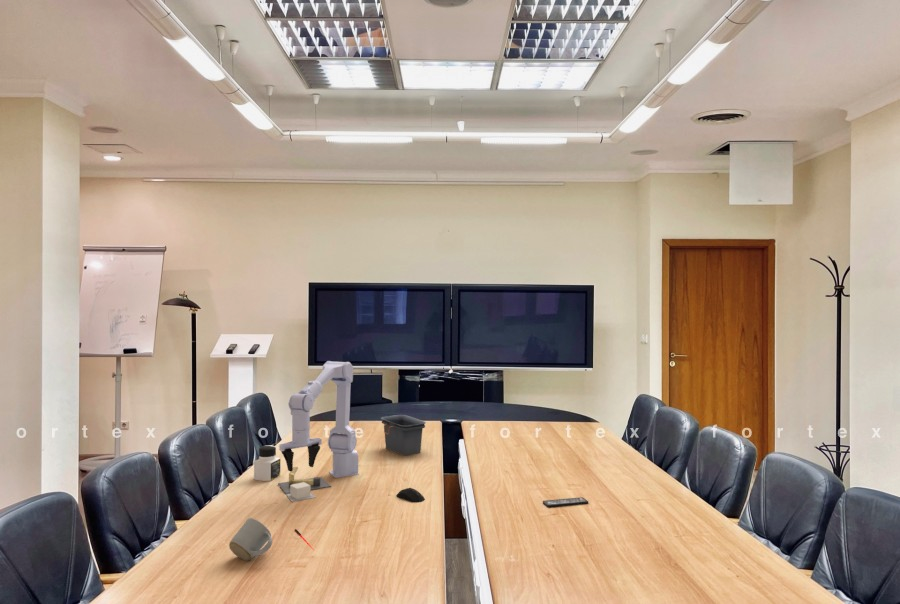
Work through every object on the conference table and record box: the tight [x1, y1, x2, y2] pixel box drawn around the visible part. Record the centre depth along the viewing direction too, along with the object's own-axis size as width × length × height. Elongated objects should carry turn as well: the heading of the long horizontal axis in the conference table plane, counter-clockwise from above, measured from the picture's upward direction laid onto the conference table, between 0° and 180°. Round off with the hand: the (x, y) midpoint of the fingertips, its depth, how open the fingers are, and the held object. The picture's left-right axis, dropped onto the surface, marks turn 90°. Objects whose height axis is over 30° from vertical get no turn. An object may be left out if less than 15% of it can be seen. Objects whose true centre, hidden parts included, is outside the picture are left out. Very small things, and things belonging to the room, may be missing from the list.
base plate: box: [277, 476, 332, 495], centre depth 204 cm, size 16×12×1 cm
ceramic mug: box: [228, 517, 273, 562], centre depth 146 cm, size 11×8×8 cm
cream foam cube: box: [290, 482, 312, 499], centre depth 193 cm, size 5×5×4 cm
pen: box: [294, 528, 315, 551], centre depth 157 cm, size 1×19×1 cm, turn 33°
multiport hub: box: [542, 496, 589, 509], centre depth 185 cm, size 4×14×2 cm, turn 104°
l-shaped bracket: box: [288, 466, 321, 486], centre depth 207 cm, size 10×11×4 cm
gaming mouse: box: [396, 487, 425, 504], centre depth 191 cm, size 6×15×4 cm, turn 43°
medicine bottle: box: [253, 444, 281, 482], centre depth 214 cm, size 7×7×12 cm
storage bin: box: [380, 414, 427, 457], centre depth 253 cm, size 21×16×14 cm
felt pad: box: [285, 492, 316, 503], centre depth 193 cm, size 8×8×1 cm
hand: (300, 468), depth 193 cm, fingers open, 7 cm apart
